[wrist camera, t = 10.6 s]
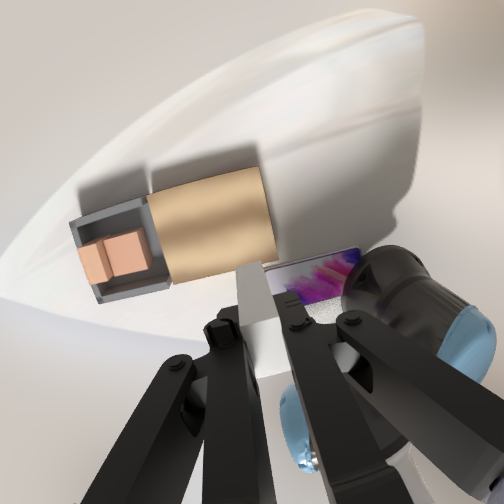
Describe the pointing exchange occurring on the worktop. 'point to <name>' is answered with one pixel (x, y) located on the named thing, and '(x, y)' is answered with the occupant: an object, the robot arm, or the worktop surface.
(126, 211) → the tray
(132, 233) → the tile
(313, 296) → the smartphone
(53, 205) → the worktop surface
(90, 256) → the tile
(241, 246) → the board
